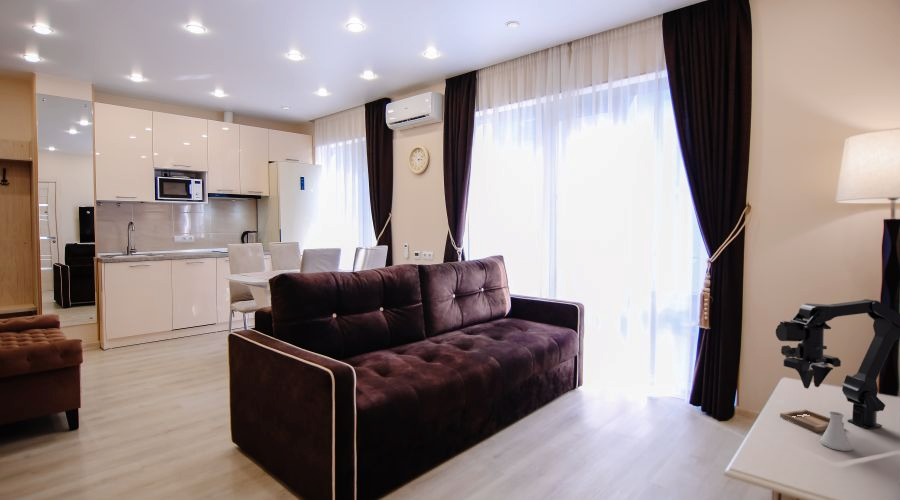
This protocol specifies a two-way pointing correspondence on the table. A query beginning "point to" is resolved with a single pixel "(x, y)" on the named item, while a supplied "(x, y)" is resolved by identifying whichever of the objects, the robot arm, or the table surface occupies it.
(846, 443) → the flask
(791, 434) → the table surface
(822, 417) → the tray
